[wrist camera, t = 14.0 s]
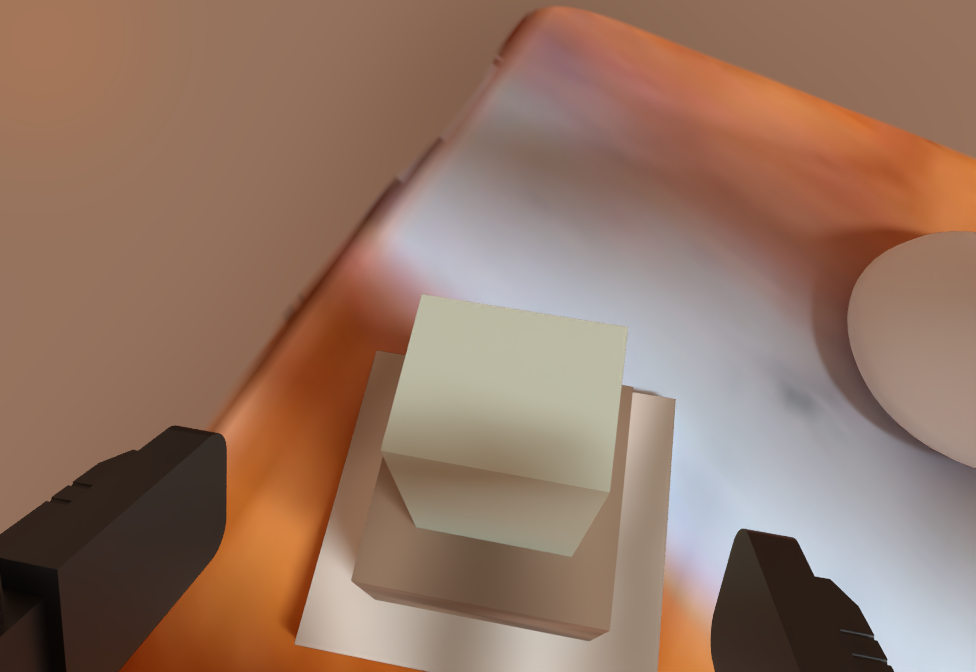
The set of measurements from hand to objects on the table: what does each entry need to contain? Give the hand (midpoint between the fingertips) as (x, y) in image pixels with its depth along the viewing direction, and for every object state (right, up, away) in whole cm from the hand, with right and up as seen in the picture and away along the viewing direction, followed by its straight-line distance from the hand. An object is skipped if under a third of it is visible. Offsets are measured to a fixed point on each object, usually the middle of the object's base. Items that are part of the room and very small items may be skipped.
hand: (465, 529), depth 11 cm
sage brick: (+1, -2, +12) cm, 12 cm away
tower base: (+1, -4, +18) cm, 18 cm away
